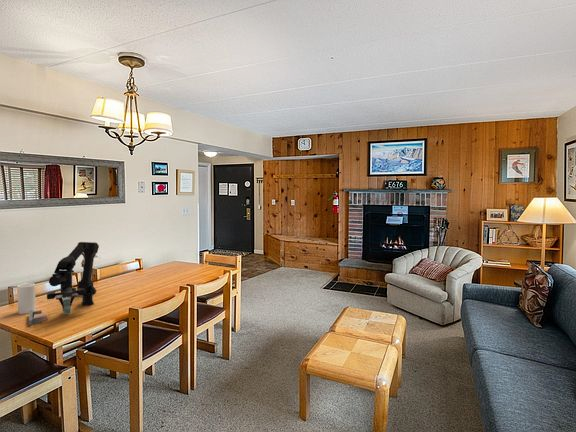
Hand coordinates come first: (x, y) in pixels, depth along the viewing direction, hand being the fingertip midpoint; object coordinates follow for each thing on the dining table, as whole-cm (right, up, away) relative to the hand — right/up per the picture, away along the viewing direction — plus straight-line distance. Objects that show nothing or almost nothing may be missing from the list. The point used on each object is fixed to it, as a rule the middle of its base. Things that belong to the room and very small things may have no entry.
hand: (66, 307), depth 199 cm
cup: (-26, -3, +4) cm, 26 cm away
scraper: (0, -2, 0) cm, 2 cm away
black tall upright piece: (-12, -1, +41) cm, 43 cm away
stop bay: (-11, -4, -8) cm, 15 cm away
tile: (-10, -5, -7) cm, 13 cm away
